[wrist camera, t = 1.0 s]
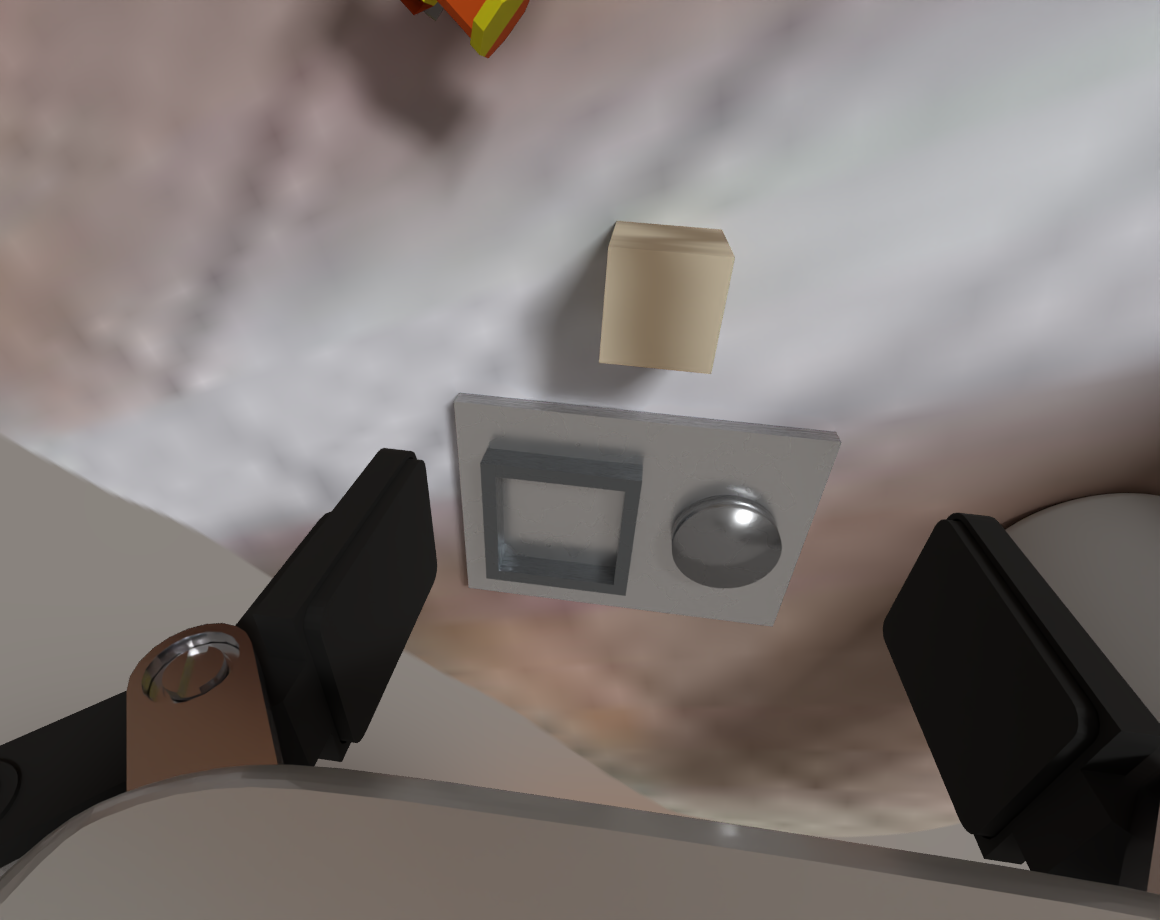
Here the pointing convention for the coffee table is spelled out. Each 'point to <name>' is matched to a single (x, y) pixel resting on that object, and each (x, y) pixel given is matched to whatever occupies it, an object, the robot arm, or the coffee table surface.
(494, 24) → the yellow toy car
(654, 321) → the block
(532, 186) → the coffee table surface
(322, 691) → the robot arm
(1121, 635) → the cylinder vase
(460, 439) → the carrier plate
